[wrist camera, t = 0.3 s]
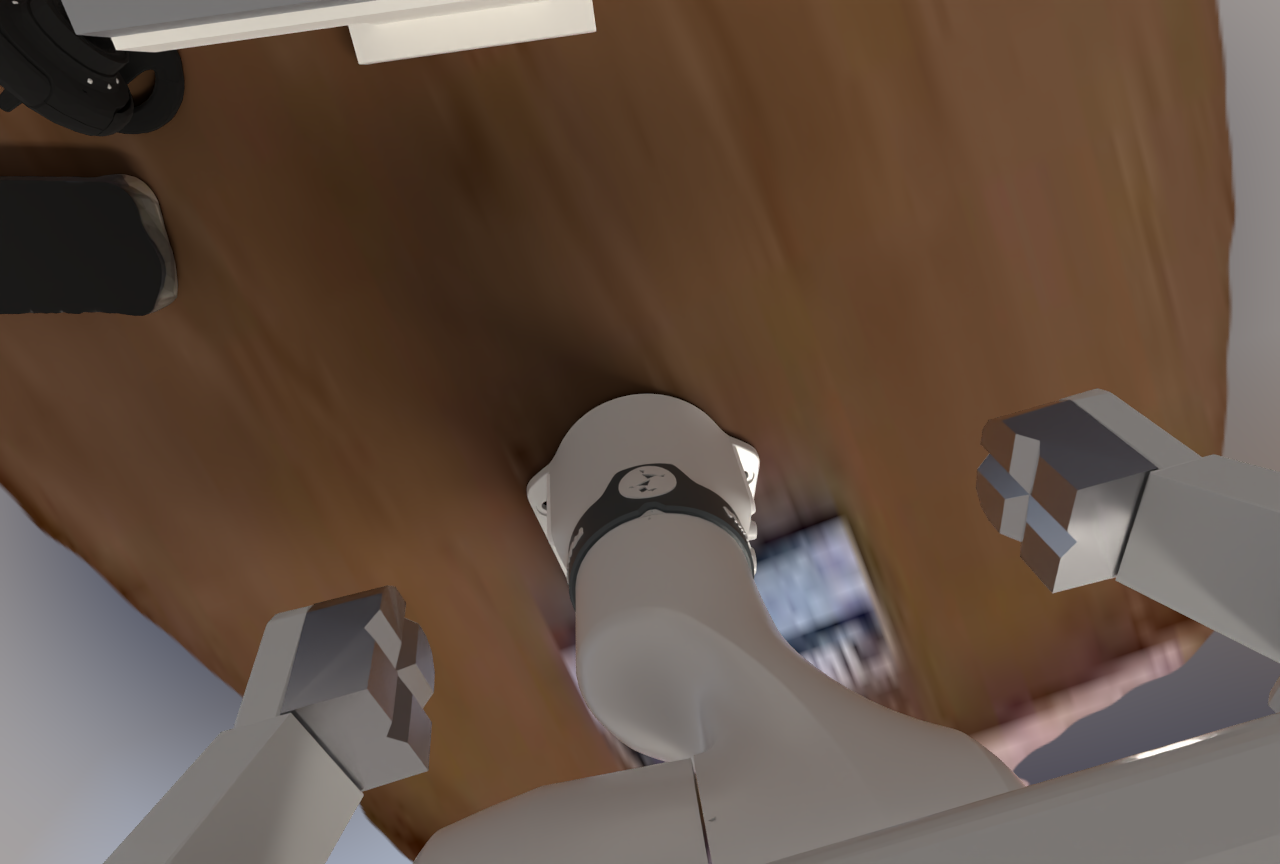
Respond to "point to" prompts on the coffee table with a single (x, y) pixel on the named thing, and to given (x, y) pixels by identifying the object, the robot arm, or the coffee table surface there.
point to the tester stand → (333, 23)
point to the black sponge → (83, 246)
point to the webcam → (80, 73)
